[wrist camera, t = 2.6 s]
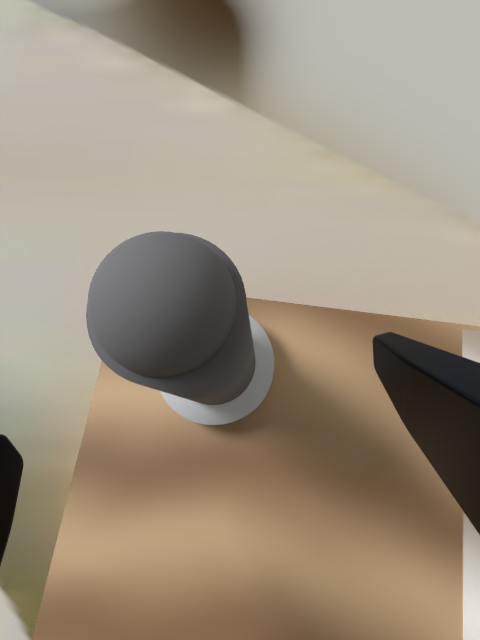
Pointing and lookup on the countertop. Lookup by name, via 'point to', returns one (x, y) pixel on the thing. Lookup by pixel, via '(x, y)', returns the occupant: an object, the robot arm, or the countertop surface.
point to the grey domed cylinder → (180, 326)
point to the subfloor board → (267, 506)
